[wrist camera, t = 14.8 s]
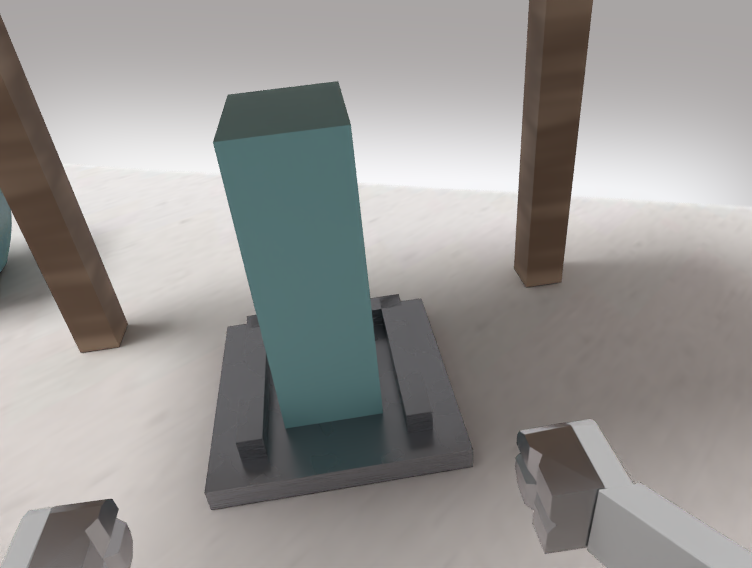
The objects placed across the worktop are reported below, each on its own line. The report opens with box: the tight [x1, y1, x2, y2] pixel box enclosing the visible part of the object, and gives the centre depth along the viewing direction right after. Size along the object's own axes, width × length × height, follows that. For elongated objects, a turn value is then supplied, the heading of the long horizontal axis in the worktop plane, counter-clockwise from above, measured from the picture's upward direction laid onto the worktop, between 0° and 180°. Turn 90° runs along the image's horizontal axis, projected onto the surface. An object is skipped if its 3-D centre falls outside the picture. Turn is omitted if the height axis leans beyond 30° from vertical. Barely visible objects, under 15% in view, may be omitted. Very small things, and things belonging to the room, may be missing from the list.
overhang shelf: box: [0, 0, 593, 352], centre depth 21 cm, size 15×26×20 cm, turn 97°
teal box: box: [213, 82, 383, 429], centre depth 22 cm, size 5×4×12 cm
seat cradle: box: [205, 294, 473, 510], centre depth 25 cm, size 10×10×2 cm
